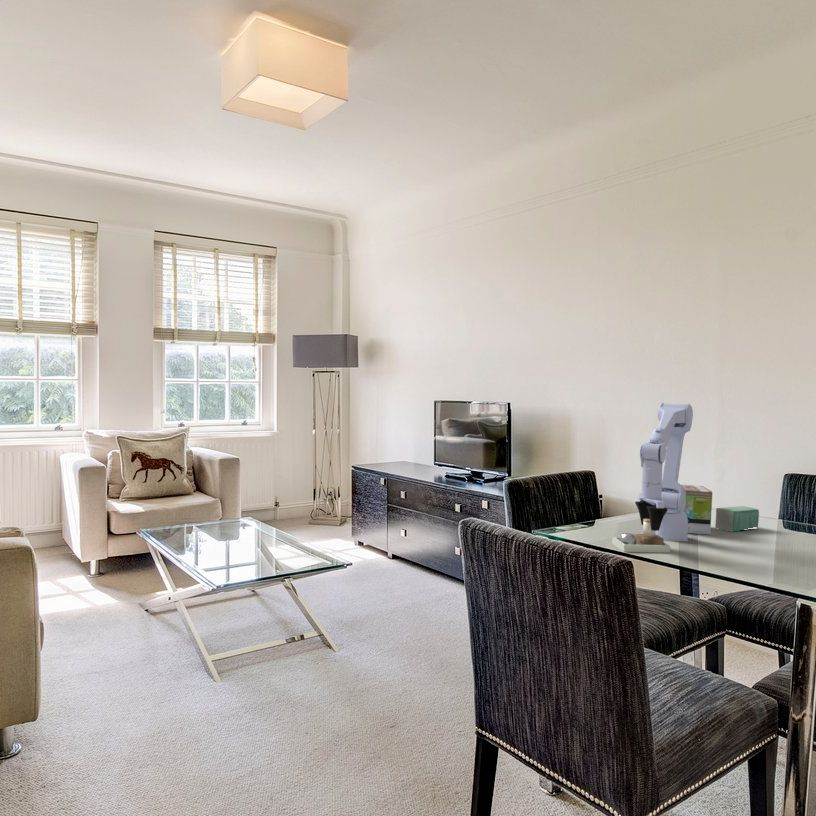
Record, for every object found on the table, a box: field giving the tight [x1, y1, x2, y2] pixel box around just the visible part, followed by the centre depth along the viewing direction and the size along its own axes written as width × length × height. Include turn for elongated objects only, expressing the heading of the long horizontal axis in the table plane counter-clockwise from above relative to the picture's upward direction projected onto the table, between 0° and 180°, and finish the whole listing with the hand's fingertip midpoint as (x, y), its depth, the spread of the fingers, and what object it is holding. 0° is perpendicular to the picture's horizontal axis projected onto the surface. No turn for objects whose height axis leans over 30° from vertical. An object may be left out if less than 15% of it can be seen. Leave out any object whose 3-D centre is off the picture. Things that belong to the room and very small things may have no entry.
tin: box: [620, 532, 637, 545], centre depth 205 cm, size 4×4×4 cm
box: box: [714, 505, 760, 533], centre depth 238 cm, size 7×14×8 cm, turn 117°
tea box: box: [680, 484, 713, 535], centre depth 235 cm, size 15×10×15 cm, turn 168°
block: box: [635, 533, 665, 545], centre depth 205 cm, size 6×6×4 cm
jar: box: [642, 518, 656, 537], centre depth 205 cm, size 4×4×5 cm
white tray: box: [611, 536, 671, 554], centre depth 205 cm, size 14×10×2 cm
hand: (650, 527), depth 205 cm, fingers open, 7 cm apart
